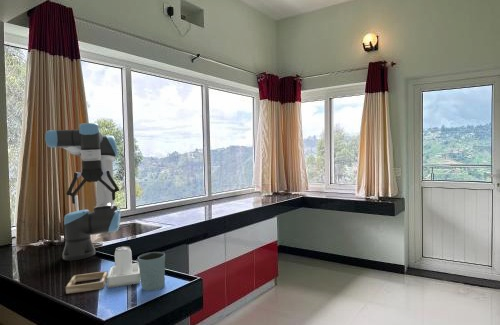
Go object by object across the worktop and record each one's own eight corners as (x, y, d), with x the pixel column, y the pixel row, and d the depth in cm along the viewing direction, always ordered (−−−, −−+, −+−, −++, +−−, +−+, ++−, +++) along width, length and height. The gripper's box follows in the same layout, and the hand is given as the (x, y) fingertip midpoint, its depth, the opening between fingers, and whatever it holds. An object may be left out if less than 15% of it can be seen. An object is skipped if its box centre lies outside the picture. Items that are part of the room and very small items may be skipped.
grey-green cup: (140, 294, 122) (138, 261, 121) (138, 284, 131) (136, 254, 131) (168, 288, 126) (167, 256, 125) (164, 279, 135) (162, 249, 135)
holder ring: (74, 281, 138) (73, 275, 137) (108, 276, 141) (107, 270, 141) (66, 294, 125) (65, 287, 125) (103, 288, 129) (103, 282, 129)
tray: (111, 275, 142) (111, 266, 142) (141, 271, 145) (140, 262, 145) (107, 288, 129) (106, 278, 128) (140, 283, 132) (139, 273, 132)
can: (134, 273, 140) (133, 245, 140) (129, 279, 134) (128, 250, 133) (119, 274, 140) (117, 246, 140) (113, 280, 133) (111, 251, 133)
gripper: (56, 162, 134) (60, 214, 135) (122, 158, 141) (125, 208, 143) (60, 161, 141) (64, 210, 142) (123, 158, 148) (126, 205, 150)
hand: (94, 209), depth 142 cm, fingers open, 13 cm apart
